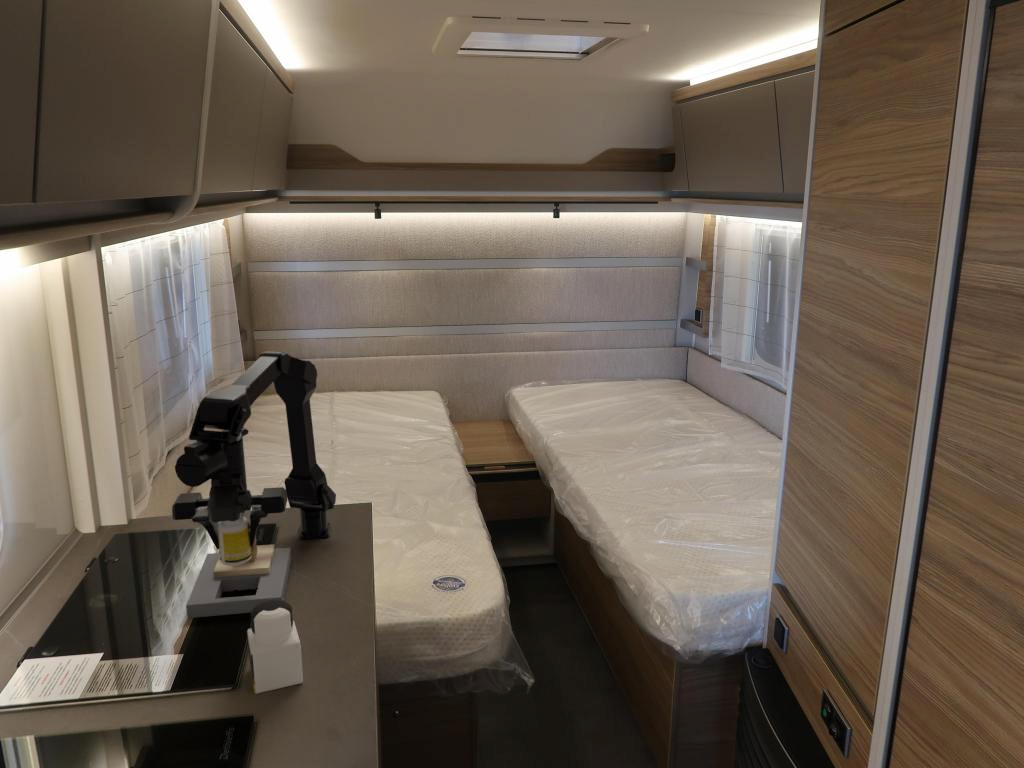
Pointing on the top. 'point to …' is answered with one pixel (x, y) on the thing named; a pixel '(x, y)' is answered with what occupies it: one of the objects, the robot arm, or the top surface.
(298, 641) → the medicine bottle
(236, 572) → the lid
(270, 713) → the top surface
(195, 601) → the board
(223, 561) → the supplement bottle
